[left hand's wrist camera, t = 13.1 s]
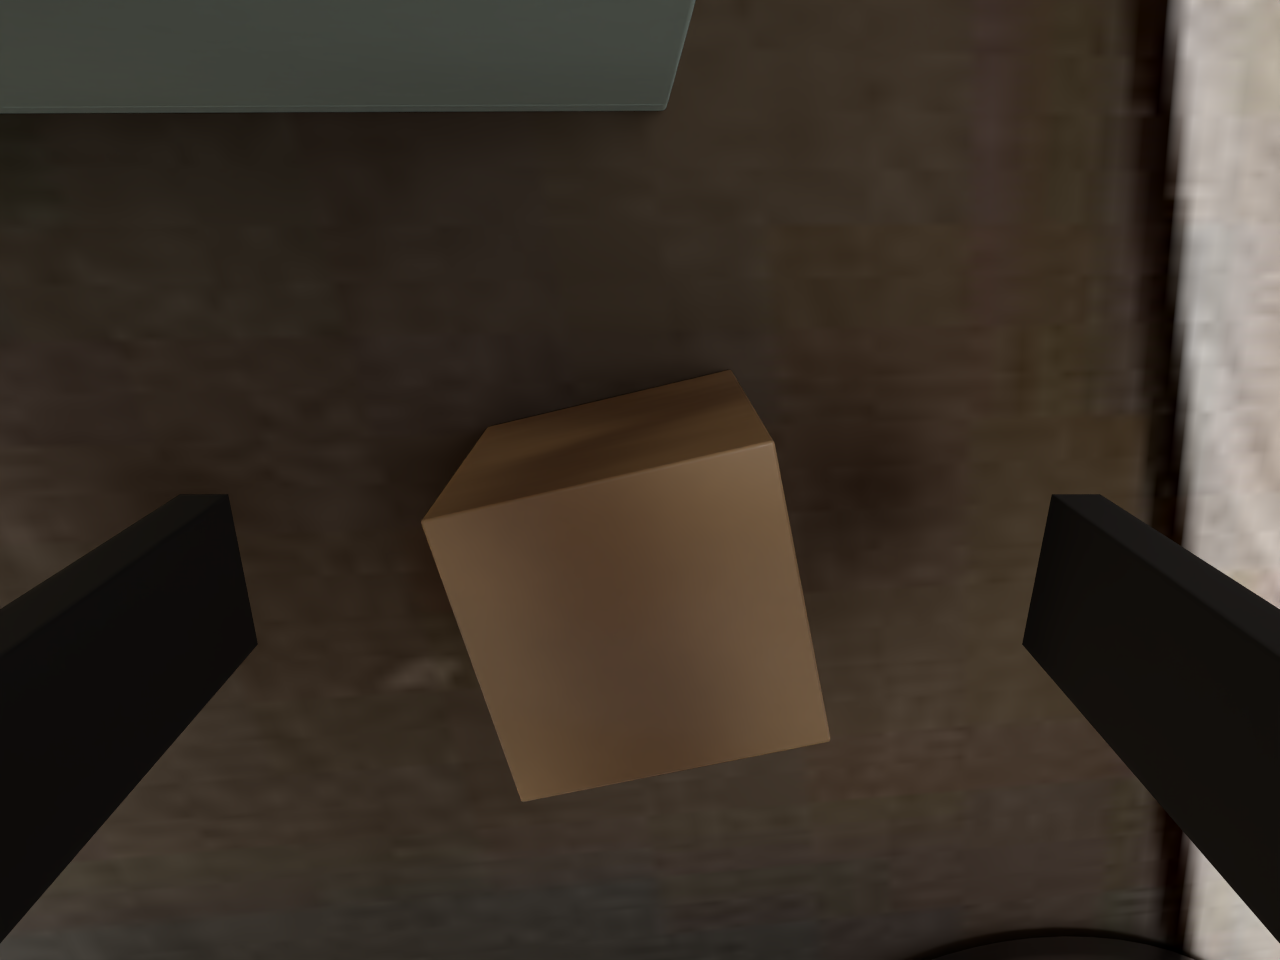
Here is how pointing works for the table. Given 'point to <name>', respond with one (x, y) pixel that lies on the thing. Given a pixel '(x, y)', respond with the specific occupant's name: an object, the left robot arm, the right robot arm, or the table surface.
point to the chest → (339, 55)
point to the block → (630, 588)
